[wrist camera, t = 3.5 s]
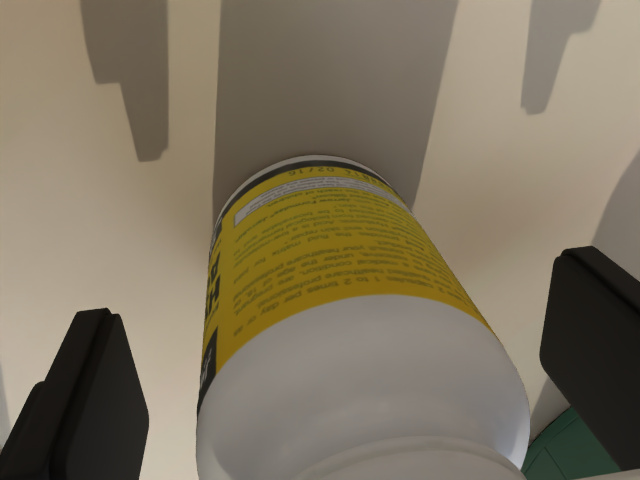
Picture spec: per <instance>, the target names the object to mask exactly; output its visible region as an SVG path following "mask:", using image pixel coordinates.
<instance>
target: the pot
mask: <svg viewBox="0 0 640 480" xmlns="http://www.w3.org/2000/svg"><path fill="white" fill-rule="evenodd" d="M520 471H521V472H522V473H523V475H524V476H525V478H526V479H527V480H574V479H581V478H587V477H593V476H599V475H605V474H611V473H617V472H622V471H621V470H620V469H619V467H618V466H617V465H616V463H615V462H614V461H613V459H612V458H611V457H610V455H609V454H608V453H607V452H606V450H605V449H604V448H603V446H602V445H601V444H600V442H599V441H598V440H597V438H596V437H595V436H594V435H593V433H592V432H591V431H590V429H589V428H588V427H587V425H586V424H585V423H584V421H583V420H582V419H581V418H580V416H579V415H578V414H577V412H576V411H575V410H574V408H573V407H571V408H570V409H568V410H567V411H565V412H564V413H563V414H562V415H561V416H559V417H558V418H557V419H556V420H555V421H554V422H553V423H552V424H550V425H549V426H548V427H547V428H546V429H545V430H544V431H543V432H542V433H541V435H540V436H539V437H538V438H537V439H536V440H535V441H534V442H533V443H532V445H531V446H530V447H529V449H528V450H527V452H526V455H525V459H524V462H523V464H522V467H521V470H520Z"/></svg>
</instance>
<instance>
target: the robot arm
mask: <svg viewBox="0 0 640 480" xmlns="http://www.w3.org/2000/svg"><path fill="white" fill-rule="evenodd" d="M539 356H540V362H541V365H542V367H543V369H544V370H545V372H546V373H547V374H548V376H549V377H550V378H551V380H552V381H553V382H554V384H555V385H556V386H557V387H558V389H559V390H560V391H561V393H562V394H563V395H564V397H565V398H566V399H567V401H568V402H569V403H570V404H571V406H572V407H573V408H574V410H575V411H576V412H577V414H578V415H579V416H580V418H581V419H582V420H583V421H584V423H585V424H586V425H587V427H588V428H589V429H590V431H591V432H592V433H593V435H594V436H595V437H596V438H597V440H598V441H599V442H600V444H601V445H602V446H603V448H604V449H605V450H606V452H607V453H608V454H609V455H610V457H611V458H612V459H613V461H614V462H615V463H616V465H617V466H618V467H619V469H620V470H621V471H622V472H617V473H611V474H605V475H599V476H593V477H587V478H581V479H574V480H640V282H639V281H638V280H636V279H635V278H634V277H633V276H631V275H630V274H629V273H627V272H626V271H625V270H624V269H622V268H621V267H620V266H618V265H617V264H616V263H615V262H613V261H612V260H611V259H609V258H608V257H607V256H606V255H604V254H603V253H602V252H600V251H599V250H598V249H597V248H595V247H593V246H586V247H578V248H570V249H565V250H563V252H562V253H561V255H560V256H559V257H557V258H556V259H555V260H554V264H553V270H552V277H551V283H550V289H549V296H548V302H547V308H546V315H545V321H544V327H543V333H542V340H541V346H540V354H539ZM148 429H149V414H148V409H147V406H146V402H145V399H144V395H143V392H142V388H141V385H140V381H139V378H138V374H137V371H136V367H135V364H134V360H133V357H132V353H131V350H130V346H129V343H128V339H127V336H126V332H125V329H124V326H123V322H122V319H121V316H120V315H119V314H118V313H117V314H111V312H110V310H109V309H108V308H101V309H93V310H85V311H79V312H77V313H76V315H75V317H74V319H73V321H72V323H71V325H70V327H69V329H68V331H67V334H66V336H65V338H64V340H63V342H62V344H61V346H60V349H59V351H58V353H57V355H56V357H55V359H54V361H53V364H52V366H51V368H50V370H49V372H48V374H47V376H46V379H45V381H42V382H39V383H37V384H35V386H34V387H33V389H32V390H31V392H30V394H29V396H28V398H27V400H26V402H25V404H24V406H23V408H22V410H21V413H20V415H19V417H18V419H17V421H16V423H15V425H14V427H13V429H12V431H11V433H10V435H9V437H8V439H7V441H6V443H5V445H4V447H3V449H2V451H1V454H0V480H139V476H140V471H141V466H142V460H143V455H144V450H145V445H146V440H147V434H148Z"/></svg>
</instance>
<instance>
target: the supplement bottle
mask: <svg viewBox="0 0 640 480" xmlns="http://www.w3.org/2000/svg"><path fill="white" fill-rule="evenodd" d="M529 435H530V411H529V404H528V399H527V395H526V392H525V388H524V385H523V383H522V380H521V378H520V376H519V373H518V371H517V369H516V367H515V366H514V364H513V362H512V361H511V359H510V357H509V355H508V354H507V352H506V350H505V349H504V347H503V345H502V344H501V342H500V341H499V339H498V338H497V336H496V335H495V333H494V332H493V330H492V329H491V328H490V326H489V325H488V323H487V322H486V320H485V319H484V317H483V316H482V315H481V313H480V312H479V310H478V309H477V307H476V306H475V305H474V303H473V302H472V300H471V299H470V297H469V296H468V294H467V293H466V291H465V290H464V288H463V287H462V286H461V284H460V283H459V281H458V280H457V278H456V277H455V275H454V274H453V273H452V271H451V270H450V268H449V267H448V265H447V264H446V262H445V261H444V259H443V258H442V256H441V255H440V253H439V252H438V250H437V249H436V247H435V246H434V245H433V243H432V242H431V240H430V239H429V237H428V236H427V234H426V233H425V231H424V230H423V229H422V227H421V225H420V224H419V223H418V221H417V219H416V218H415V217H414V215H413V214H412V212H411V211H410V210H409V208H408V207H407V205H406V204H405V202H404V201H403V200H402V198H401V197H400V196H399V195H398V193H397V192H396V191H395V190H394V189H393V187H392V186H391V185H390V184H389V183H388V182H387V181H386V180H384V179H383V178H382V177H381V176H380V175H378V174H377V173H376V172H374V171H373V170H371V169H369V168H368V167H366V166H364V165H362V164H360V163H357V162H354V161H351V160H349V159H345V158H341V157H335V156H326V155H307V156H300V157H294V158H290V159H287V160H284V161H281V162H278V163H276V164H273V165H271V166H269V167H267V168H265V169H263V170H261V171H260V172H258V173H256V174H255V175H253V176H252V177H250V178H249V179H248V180H247V181H245V182H244V183H243V184H242V185H241V186H240V187H239V188H238V189H237V190H236V191H235V192H234V193H233V195H232V196H231V197H230V198H229V199H228V201H227V202H226V204H225V205H224V207H223V209H222V211H221V213H220V214H219V216H218V219H217V222H216V225H215V227H214V231H213V236H212V241H211V247H210V253H209V265H208V282H207V295H206V308H205V321H204V334H203V349H202V362H201V375H200V390H199V399H198V404H197V428H196V462H197V471H198V476H199V480H527V479H526V478H525V476H524V475H523V473H522V472H521V471H520V470H521V467H522V464H523V462H524V459H525V455H526V452H527V447H528V441H529Z"/></svg>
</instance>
